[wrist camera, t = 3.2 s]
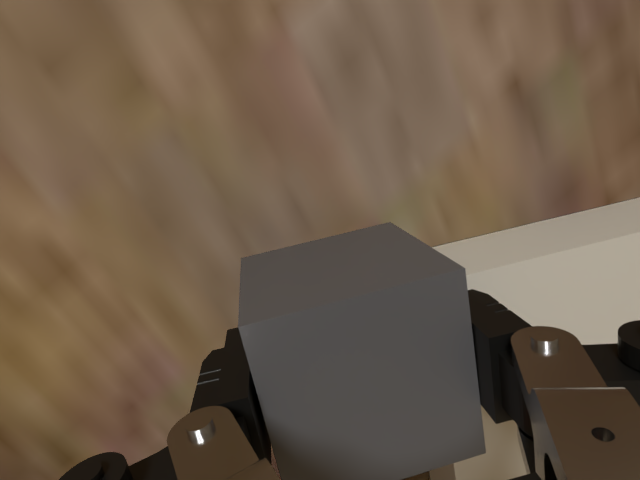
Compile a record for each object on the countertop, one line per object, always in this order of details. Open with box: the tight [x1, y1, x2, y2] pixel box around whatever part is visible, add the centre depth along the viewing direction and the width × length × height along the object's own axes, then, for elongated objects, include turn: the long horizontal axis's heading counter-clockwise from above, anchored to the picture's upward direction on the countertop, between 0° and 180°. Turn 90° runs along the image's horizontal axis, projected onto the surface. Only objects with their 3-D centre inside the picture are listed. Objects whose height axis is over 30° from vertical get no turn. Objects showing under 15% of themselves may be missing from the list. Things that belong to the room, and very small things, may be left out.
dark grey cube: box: [238, 222, 486, 480], centre depth 12 cm, size 5×5×6 cm
